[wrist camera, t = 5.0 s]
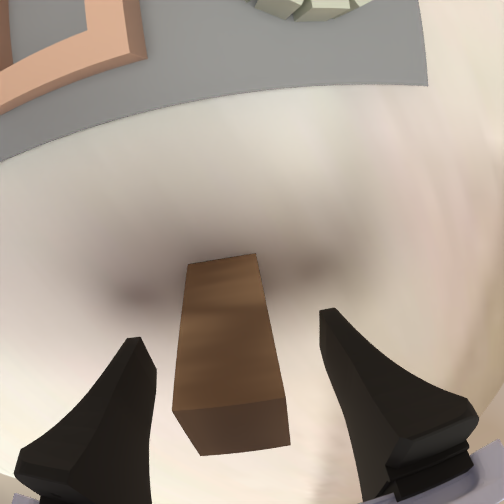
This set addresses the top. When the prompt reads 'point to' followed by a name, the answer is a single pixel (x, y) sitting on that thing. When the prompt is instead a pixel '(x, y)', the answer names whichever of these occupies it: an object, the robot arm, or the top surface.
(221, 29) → the socket block
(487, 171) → the top surface
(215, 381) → the square bit
